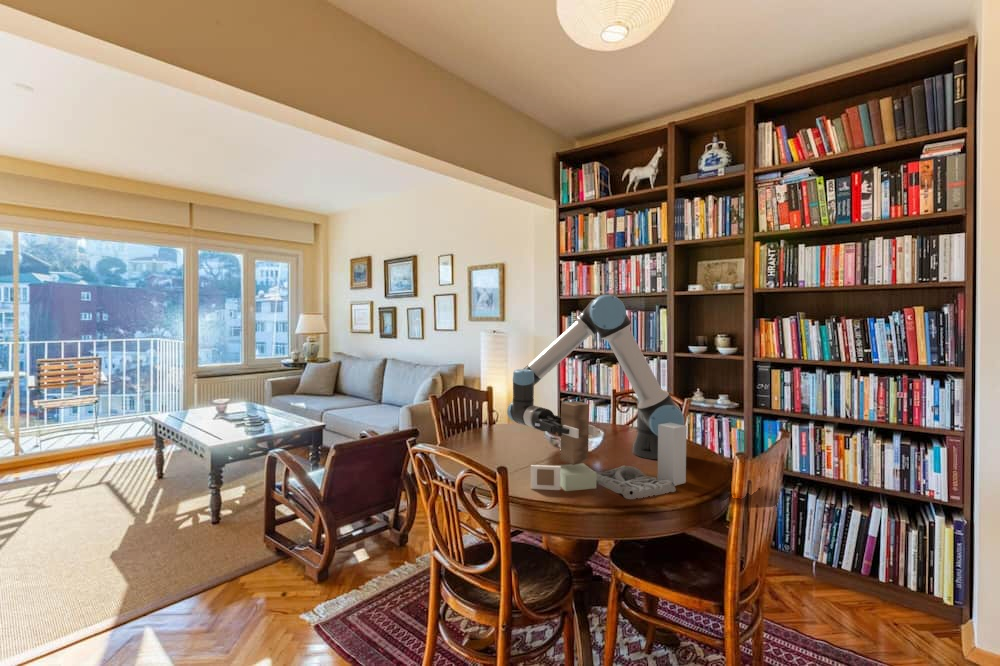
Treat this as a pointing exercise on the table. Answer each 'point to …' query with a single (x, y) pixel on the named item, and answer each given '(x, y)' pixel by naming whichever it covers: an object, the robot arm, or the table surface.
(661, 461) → the grey plastic block
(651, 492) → the wall plaque
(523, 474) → the table surface
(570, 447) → the walnut block
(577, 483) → the sage base block
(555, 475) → the card
